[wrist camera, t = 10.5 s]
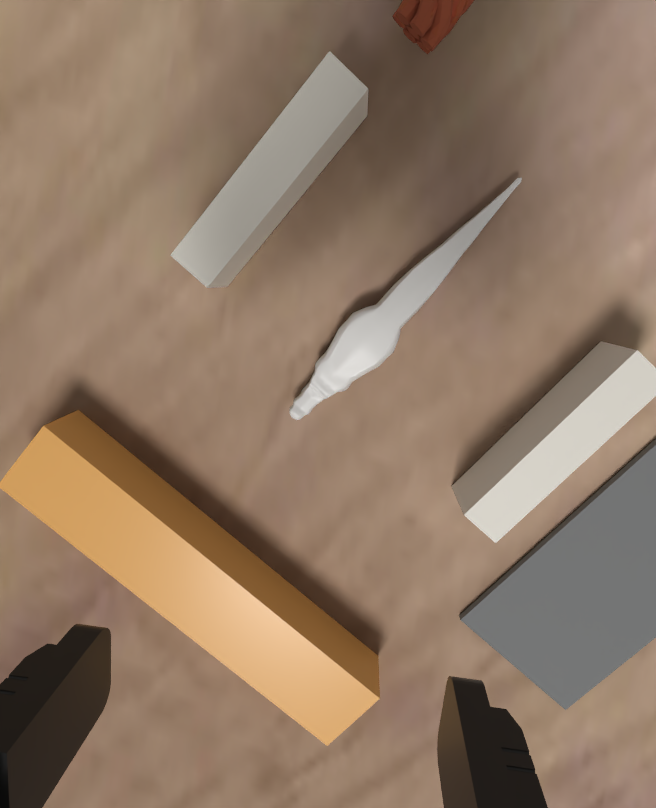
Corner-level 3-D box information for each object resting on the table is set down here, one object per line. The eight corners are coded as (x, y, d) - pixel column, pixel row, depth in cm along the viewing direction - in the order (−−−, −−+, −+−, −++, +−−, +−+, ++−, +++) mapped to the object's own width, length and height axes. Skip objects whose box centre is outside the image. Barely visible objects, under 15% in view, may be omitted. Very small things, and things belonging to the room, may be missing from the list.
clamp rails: (195, 258, 26) (170, 255, 23) (334, 83, 24) (329, 51, 21) (479, 511, 28) (495, 543, 25) (629, 369, 26) (670, 382, 23)
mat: (459, 615, 29) (460, 620, 29) (712, 387, 26) (718, 388, 26) (562, 704, 30) (565, 709, 30) (822, 494, 27) (829, 497, 26)
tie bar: (39, 461, 29) (-3, 485, 26) (81, 408, 28) (43, 425, 25) (331, 695, 31) (327, 746, 28) (378, 651, 31) (379, 698, 27)
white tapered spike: (314, 428, 28) (310, 438, 26) (276, 393, 28) (270, 401, 26) (535, 202, 25) (549, 195, 23) (495, 160, 25) (506, 150, 23)
